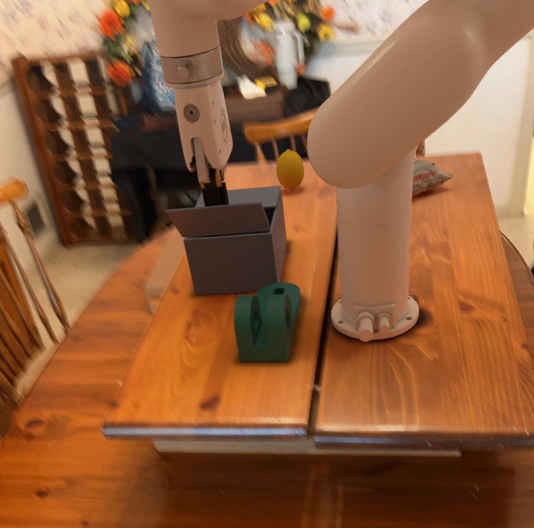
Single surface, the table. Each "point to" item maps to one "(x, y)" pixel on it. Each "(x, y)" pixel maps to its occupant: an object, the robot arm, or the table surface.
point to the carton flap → (219, 219)
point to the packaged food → (427, 177)
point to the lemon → (290, 170)
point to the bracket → (267, 322)
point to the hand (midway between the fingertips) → (218, 213)
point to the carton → (240, 249)
